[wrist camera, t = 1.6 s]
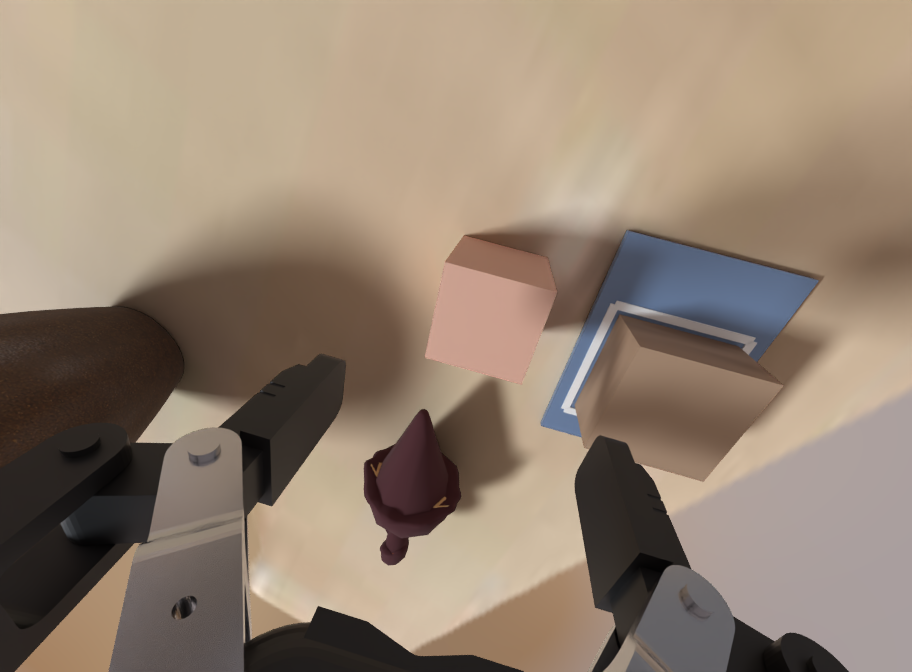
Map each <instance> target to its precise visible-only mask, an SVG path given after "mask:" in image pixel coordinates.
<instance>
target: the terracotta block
mask: <svg viewBox="0 0 912 672" xmlns="http://www.w3.org/2000/svg"><path fill="white" fill-rule="evenodd" d="M556 295H557V289H556V285H555V282H554V278H553V275H552V271H551V268H550V264H549V261H548V258H547V257H544V256H540V255H536V254H532V253H529V252H525V251H521V250H517V249H514V248H510V247H506V246H502V245H498V244H495V243H491V242H487V241H483V240H480V239H476V238H472V237H468V236H465V235H464V236H463V237H462V239H461V240H460V242H459V243H458V244H457V246H456V247H455V249H454V250H453V251H452V253H451V254H450V256H449V257H448V258H447V260H446V261H445V264H444V268H443V273H442V278H441V283H440V287H439V292H438V297H437V301H436V306H435V311H434V315H433V320H432V325H431V330H430V334H429V339H428V344H427V348H426V353H425V358H428V359H432V360H435V361H439V362H443V363H446V364H450V365H453V366H457V367H460V368H464V369H467V370H471V371H475V372H478V373H482V374H485V375H489V376H492V377H496V378H499V379H503V380H507V381H510V382H514V383H517V384H521V385H522V382H523V380H524V377H525V375H526V372H527V370H528V367H529V364H530V362H531V359H532V357H533V354H534V352H535V349H536V346H537V344H538V341H539V339H540V336H541V334H542V331H543V328H544V326H545V323H546V321H547V318H548V316H549V313H550V310H551V308H552V305H553V303H554V300H555V298H556Z"/></svg>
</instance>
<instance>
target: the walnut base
mask: <svg viewBox="0 0 912 672" xmlns="http://www.w3.org/2000/svg"><path fill="white" fill-rule="evenodd" d="M783 386H784V385H783V384H781V383H780V382H779V381H778V380H777V379H776V378H775V377H773V376H772V375H771V374H770V373H769V372H768V371H766V370H765V369H764V368H763V367H762V366H761V365H759V364H758V363H757V362H756V361H755V360H754V359H753V358H751V357H750V356H749V355H748V354H747V353H746V352H744V351H743V350H742V349H741V348H740V347H739V346H736V345H732V344H729V343H725V342H721V341H717V340H714V339H710V338H706V337H703V336H699V335H695V334H691V333H688V332H684V331H680V330H677V329H673V328H669V327H665V326H662V325H658V324H654V323H650V322H647V321H643V320H639V319H636V318H632V317H628V316H624V315H621V314H619V316H618V318H617V320H616V322H615V324H614V326H613V328H612V330H611V332H610V334H609V336H608V338H607V340H606V342H605V344H604V346H603V348H602V351H601V353H600V355H599V357H598V359H597V361H596V363H595V365H594V367H593V369H592V371H591V373H590V375H589V377H588V379H587V381H586V383H585V385H584V387H583V389H582V391H581V393H580V395H579V397H578V399H577V401H576V403H575V409H576V414H577V418H578V423H579V427H580V432H581V436H582V441H583V445H584V448H587V449H590V447H591V446H592V444H593V442H594V440H595V439H596V438H597V437H598V436H599V435H602V436H605V437H609V438H612V439H615V440H619V441H622V442H625V443H627V445H628V446H629V449H630V451H631V454H632V456H633V459H634V462H636V463H639V464H643V465H646V466H650V467H653V468H657V469H660V470H664V471H667V472H671V473H675V474H678V475H682V476H685V477H689V478H692V479H696V480H699V481H703V482H704V480H705V479H706V478H707V477H708V476H709V474H710V473H711V472H712V471H713V470H714V468H715V467H716V466H717V465H718V464H719V462H720V461H721V460H722V459H723V458H724V457H725V455H726V454H727V453H728V452H729V451H730V449H731V448H732V447H733V446H734V445H735V443H736V442H737V441H738V440H739V439H740V437H741V436H742V435H743V434H744V433H745V431H746V430H747V429H748V428H749V427H750V426H751V424H752V423H753V422H754V421H755V420H756V418H757V417H758V416H759V415H760V414H761V412H762V411H763V410H764V409H765V408H766V406H767V405H768V404H769V403H770V402H771V400H772V399H773V398H774V397H775V396H776V394H777V393H778V392H779V391H780V390H781V389H782V387H783Z"/></svg>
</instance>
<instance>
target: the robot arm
mask: <svg viewBox="0 0 912 672" xmlns="http://www.w3.org/2000/svg"><path fill="white" fill-rule="evenodd" d="M345 369H346V362H345V361H344V360H342V359H338V358H335V357H331V356H328V355H325V354H319V355H318V356H317V357H316V358H315V359H313V360H312V361H311V362H310V363H309V364H308V365H307V366H303V365H300V364H298V365H296V366H293V367H291V368H289V369H286V370H284V371H282V372H281V373H280V374H279V375H277V376H276V377H275V378H274V379H273V380H272V381H271V382H270V384H267V385H266V386H265V387H264V388H263V389H262V390H260V393H257V394H256V395H255V396H254V397H252V398H251V399H250V400H249V401H248V402H247V403H246V404H245V405H243V406H242V407H241V408H240V409H239V410H238V411H237V412H235V413H234V414H233V415H232V416H231V417H230V418H229V419H228V420H226V421H225V422H224V423H223V424H222V425H221V426H220V427H218V428H205V429H200V430H197V431H193V432H191V433H188V434H186V435H184V436H183V437H181V438H179V439H178V440H176V441H175V442H174V443H130V442H129V438H128V434H127V432H126V430H125V429H124V428H122V427H121V426H119V425H116V424H112V423H91V424H85V425H80V426H76V427H73V428H70V429H67V430H64V431H62V432H60V433H57V434H55V435H53V436H52V437H50V438H48V439H46V440H45V441H43V442H42V443H40V444H39V445H37V446H35V447H34V448H32V449H31V450H29V451H27V452H26V453H24V454H23V455H21V456H20V457H18V458H16V459H15V460H13V461H12V462H10V463H8V464H7V465H5V466H4V467H2V468H0V672H15V671H16V670H17V668H18V667H19V666H20V665H21V664H22V663H23V662H24V661H25V660H26V659H27V658H28V657H29V656H30V654H31V653H32V652H33V651H34V650H35V649H36V648H37V647H38V646H39V645H40V643H42V642H43V641H44V640H45V638H46V637H47V636H48V635H49V634H50V633H51V632H52V631H53V630H54V629H55V628H56V627H57V625H59V623H60V622H61V621H62V620H63V619H64V618H65V617H66V616H67V615H68V614H69V613H70V612H71V610H73V608H74V607H75V606H76V605H77V604H78V603H79V602H80V601H81V600H82V599H83V598H84V597H85V596H86V595H87V593H88V592H89V591H90V590H91V589H92V588H93V587H94V586H95V585H96V584H97V583H98V582H99V581H100V580H101V578H102V577H103V576H104V575H105V574H106V573H107V572H108V571H109V570H110V569H111V568H112V567H113V566H114V565H115V563H116V562H117V561H118V560H119V559H120V558H121V557H122V556H123V555H124V554H125V553H126V552H127V551H128V550H129V548H130V547H131V546H132V545H133V544H134V543H141V544H140V545H139V546H138V548H137V549H136V552H135V555H134V558H133V562H132V566H131V571H130V576H129V580H128V585H127V589H126V594H125V599H124V603H123V608H122V613H121V617H120V622H119V626H118V631H117V635H116V640H115V645H114V649H113V654H112V659H111V663H110V668H109V672H524V671H521V670H518V669H515V668H511V667H509V666H505V665H502V664H499V663H496V662H493V661H490V660H487V659H483V658H480V657H477V656H474V655H452V656H417V655H414V654H412V653H410V652H409V651H408V650H406V649H405V648H403V647H402V646H401V645H399V644H398V643H397V642H395V641H394V640H392V639H391V638H390V637H388V636H387V635H385V634H384V633H383V632H381V631H380V630H378V629H377V628H376V627H374V626H373V625H371V624H370V623H369V622H367V621H364V620H361V619H357V618H354V617H351V616H348V615H345V614H342V613H338V612H335V611H332V610H329V609H326V608H323V607H320V606H318V607H317V609H316V612H315V614H314V616H313V618H312V621H311V622H307V623H297V624H291V625H286V626H283V627H279V628H276V629H273V630H271V631H268V632H266V633H264V634H261V635H259V636H257V637H255V638H253V639H252V629H251V607H250V584H249V550H248V549H249V548H248V517H247V515H248V514H249V513H250V511H251V510H252V509H253V508H254V506H255V505H256V504H257V502H259V503H263V504H266V505H269V506H273V504H274V503H275V502H276V500H277V499H278V497H279V496H280V495H281V493H282V492H283V490H284V489H285V488H286V486H287V485H288V483H289V482H290V481H291V479H292V478H293V477H294V475H295V474H296V472H297V471H298V470H299V468H300V467H301V465H302V464H303V463H304V461H305V460H306V458H307V457H308V456H309V454H310V453H311V451H312V450H313V449H314V447H315V446H316V444H317V443H318V442H319V440H320V439H321V437H322V436H323V435H324V433H325V432H326V430H327V429H328V428H329V426H330V425H331V424H332V422H333V421H334V419H335V418H336V416H337V414H338V412H339V410H340V407H341V404H342V399H343V390H344V380H345ZM575 494H576V500H577V506H578V511H579V517H580V523H581V529H582V535H583V540H584V546H585V552H586V558H587V564H588V569H589V575H590V581H591V587H592V593H593V598H594V604H595V608H598V609H601V610H605V611H608V612H612V613H613V616H614V621H615V625H614V626H613V627H612V628H611V630H610V631H609V633H608V635H607V637H606V639H605V640H604V642H603V644H602V646H601V648H600V650H599V652H598V654H597V655H596V657H595V659H594V661H593V663H592V664H591V666H590V668H589V670H588V672H849V671H848V670H847V669H846V668H845V667H844V666H843V665H842V664H841V663H840V662H839V661H838V660H837V659H836V658H835V657H834V656H833V655H832V654H830V653H829V652H828V651H827V650H826V649H824V648H823V647H822V646H820V645H819V644H817V643H816V642H814V641H813V640H811V639H809V638H807V637H805V636H803V635H800V634H797V633H786V634H785V635H783V636H782V637H781V638H779V639H778V640H776V641H773V640H771V639H770V638H768V637H766V636H765V635H763V634H761V633H760V632H758V631H756V630H755V629H753V628H751V627H750V626H748V625H746V624H745V623H743V622H741V621H740V620H738V619H737V618H735V617H733V615H732V613H731V611H730V609H729V607H728V605H727V603H726V602H725V600H724V599H723V597H722V596H721V595H720V593H719V592H718V591H717V590H716V589H715V588H714V587H713V586H712V584H710V583H709V582H708V581H707V580H706V579H705V578H704V577H702V576H701V575H700V574H698V573H696V572H695V571H693V570H691V567H690V565H689V562H688V560H687V558H686V555H685V553H684V551H683V548H682V546H681V544H680V541H679V539H678V537H677V534H676V532H675V529H674V527H673V525H672V522H671V520H670V518H669V515H667V514H666V513H667V511H666V508H665V506H664V504H663V501H661V497H660V494H659V492H658V490H657V487H656V485H655V483H654V481H653V479H652V478H651V477H650V476H649V474H648V473H647V472H646V471H645V469H644V468H643V467H642V466H641V465H640V464H637V463H635V462H634V459H633V456H632V454H631V451H630V449H629V446H628V445H627V443H625V442H622V441H619V440H615V439H612V438H609V437H605V436H602V435H599V436H598V437H597V438H596V439H595V440H594V442H593V444H592V446H591V447H590V449H589V451H588V453H587V454H586V456H585V458H584V460H583V462H582V463H581V465H580V467H579V469H578V471H577V474H576V478H575ZM55 527H56V528H55ZM54 528H55V529H54ZM49 532H50V533H49ZM48 533H49V534H48ZM42 538H43V539H42ZM41 539H42V540H41ZM36 543H37V544H36ZM35 544H36V545H35ZM29 549H30V550H29ZM28 550H29V551H28ZM23 554H24V555H23ZM22 555H23V556H22ZM17 559H18V560H17ZM16 560H17V561H16ZM15 561H16V562H15Z"/></svg>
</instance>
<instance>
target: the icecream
mask: <svg viewBox="0 0 912 672" xmlns="http://www.w3.org/2000/svg"><path fill="white" fill-rule="evenodd" d="M364 496H365V498H366V500H367V502H368V503H369V504H370V507H371V509H372V512H373V515H374V518H375V521H376V523H377V524H378V525H379V526H381V527H383V528H384V529H386V532H387V533H388V535H387V538H386V540H385V541H384V542H383V544H382V545H381V547H380V551H381V558H382V561H383V562H384V563H386V564H387V565H396V564H397V563H399V562H400V561H401V560H402V559H403V558H404V557H405V555H406V552H407V550H408V545H409V540H408V538H409V537H415V536H423V535H428V534H429V533H430V532H431V531H432V530H433V529H434V528H435V527H436V526H437V525H439V524H440V523H441V522H442V521H443V520H444V519H445V518H446V517H447V515H449V514H450V513H452V512H454V511H455V509H456V506H457V503H458V501H459V500H460V499H461V492H460V488H459V472H458V469H457V466H456V465H455V464H454V463H453V462H452V461H451V460H449V459H448V458H447V457H446V456H445V455H443V453H442V452H441V451H440V448H439V445H438V442H437V439H436V435H435V432H434V429H433V425H432V422H431V418H430V416H429V413H428V411H427V410H425V409H422V410H420V411H419V412H418V414H417V415H416V416H415V417H414V419H413V420H412V422H411V423H410V425H409V426H408V427H407V429H406V430H405V432H404V433H403V434H402V436H401V437H400V439H399V440H398V441H397V443H396V444H394V445H392V446H391V447H389V448H387V449H384V450H380V451H377V452H376V453H375V454H374V456H373V458H371V459H369V460H367V461H366V462H365V463H364Z"/></svg>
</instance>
